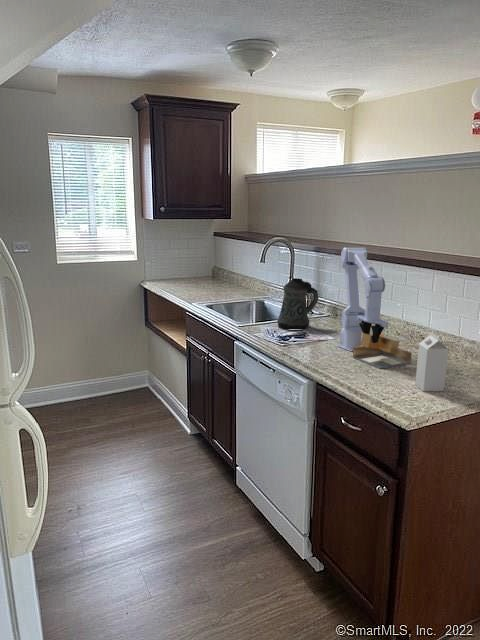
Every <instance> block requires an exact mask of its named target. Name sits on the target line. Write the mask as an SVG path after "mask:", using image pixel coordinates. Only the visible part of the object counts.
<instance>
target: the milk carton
mask: <svg viewBox="0 0 480 640" xmlns="http://www.w3.org/2000/svg"><path fill="white" fill-rule="evenodd" d="M448 355H449V348H448V347H446V345H445V344H443V343H442V342H441V341H440V336H438V335H436V334H434V333H433V332H432V331H430V332H429V335H428V336H427V337H426V338H424V339H423V340H422V341H420V342H419V343H418V355H417V363H416V375H415V376H416V377H415V385H416V386H417V387H418V388H419V389H420V390H421V391H422V392H444V391H445V384H446V375H447V365H448Z"/></svg>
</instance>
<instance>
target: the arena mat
mask: <svg viewBox="0 0 480 640" xmlns="http://www.w3.org/2000/svg"><path fill="white" fill-rule="evenodd" d="M352 358H353V359H354V360H357V361H360V362H361V363H365V364H366V365H369V366H372V367H373V368H377V369H379V370H383V369H388V368H394V367H398V366H405V365H410V364H411V363H412V361H411V362H406V361H403V360H401V359H398V358H395V357H392V356H390V355H387V354H384V353H378V354H372V355H366V356H360V357H353V356H352Z"/></svg>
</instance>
